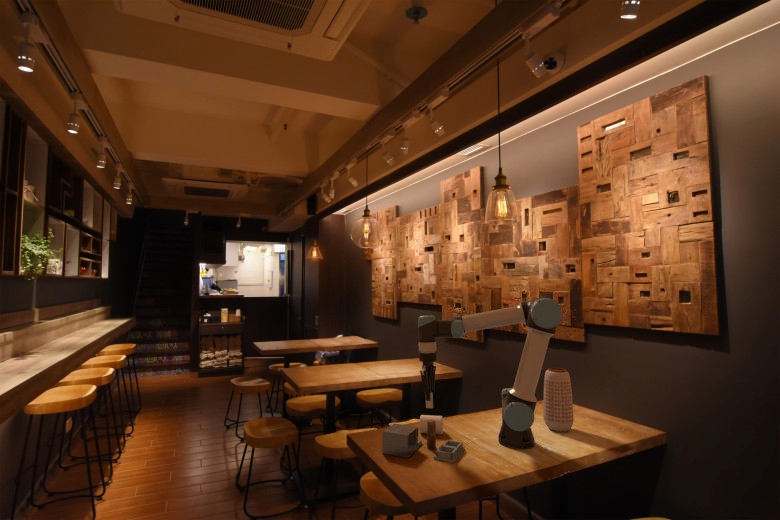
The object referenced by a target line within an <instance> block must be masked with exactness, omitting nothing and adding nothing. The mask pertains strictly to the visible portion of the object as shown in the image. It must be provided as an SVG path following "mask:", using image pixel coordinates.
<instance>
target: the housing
mask: <svg viewBox="0 0 780 520" xmlns="http://www.w3.org/2000/svg"><path fill="white" fill-rule="evenodd" d="M418 438H419V426H413V425H409V424H400V423H396V422H395V423H392V424H391V425H389V426H388V427H387V428H385V429H384V430H382V442H381V444H382V446H381V447H382V448H381V449H382V454H385V455H389V456H395V457H401V458H404V459H409V457H410V456H412V455H413V454H414V453H415V452H416V451H417V450H419V447H418V440H419V439H418Z"/></svg>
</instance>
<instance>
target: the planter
mask: <svg viewBox="0 0 780 520" xmlns="http://www.w3.org/2000/svg"><path fill="white" fill-rule="evenodd" d="M571 381H572V380H571V376H570V373H569V372H568V370H567V369H565V368H561V367H549V368H548V369H547V370H545V374H544V380H543V421H544V423H545V426H546V427H547V428H548V429H549V430H550V431H552V432H557V433H567V432H569V430H571V428H572V427H573V425H574V421H575V419H574V402H573V389H572V382H571Z"/></svg>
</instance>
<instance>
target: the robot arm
mask: <svg viewBox="0 0 780 520" xmlns="http://www.w3.org/2000/svg"><path fill="white" fill-rule="evenodd" d="M562 317H563V311H562V308H561V306H560V304H559V303H558V302H557V301H556V300H554V299H552V298H549V297H537V298H534V299H532V300H531V299H530V300H528V301H525V302H519V303H518V305H516V306H510V307H505V308H504V307H503V308H499V309H494V310H487V311H483V312H477V313H471V314H465V315H461V316H455V317H454V316H452V317H449V318H447V319H445V320H444V319H441V320H440V319H438V320H437V318H436V316H435V315H420V316H419V317H418V318H417V319H418V321H417V333H418V334H417V335H418V336H417V337H418V343H417V346H418V360H419V362H422V369H421V370H419V374H420V379H421V386H422V393H424V394H425V408H426V409H433V408H434V397H433V396H434V395H433V394H434V393H433V392H435V389H436V388H435V386H436V370H437V365H434V362H436V361H437V358H438V357H437V352H436V351H437V339H440V338H442V339H444V338H445V339H449V338H450V339H457V338H459V339H461V338H463V337H464V335H465V333H470V332H471V333H472V332H477V331H482V330H486V329H493V328H500V327H505V326H511V325H517V324H523V325H525V328H526V329H527V335H526V338H525V342H524V346H523V349H522V353H521V356H520V360H519V365H518V368H517V372H516V376H515V380H514V383H513V387H506V388H503V389H502V390H501V420H502V421H501V426H500V430H499V432H498V437H497V438H498V441H497V442H498V443H499V444H500V445H502V446H504V447H507V448H510V449H515V450H517V449H518V450H519V449H520V450H525V449H531V448H533V447H534V446H535V445H536V443H535V442H536V441H535V440H536V439H535V437H534V434H533V431H532V428H531V427H532V426H533V424H534V422H535V409H536V406H537V404H538V403H537V402H538V399H537V397H536V395H535V394H536V390H537V386H538V383H539V379H540V377H541V371H542V369H543V365H544V361H545V357H546V354H547V350H548V346H549V343H550V339H551V337H554V336H555V334H556V331H557V328H558V325H559V324H560V323H561V320H562Z"/></svg>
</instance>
